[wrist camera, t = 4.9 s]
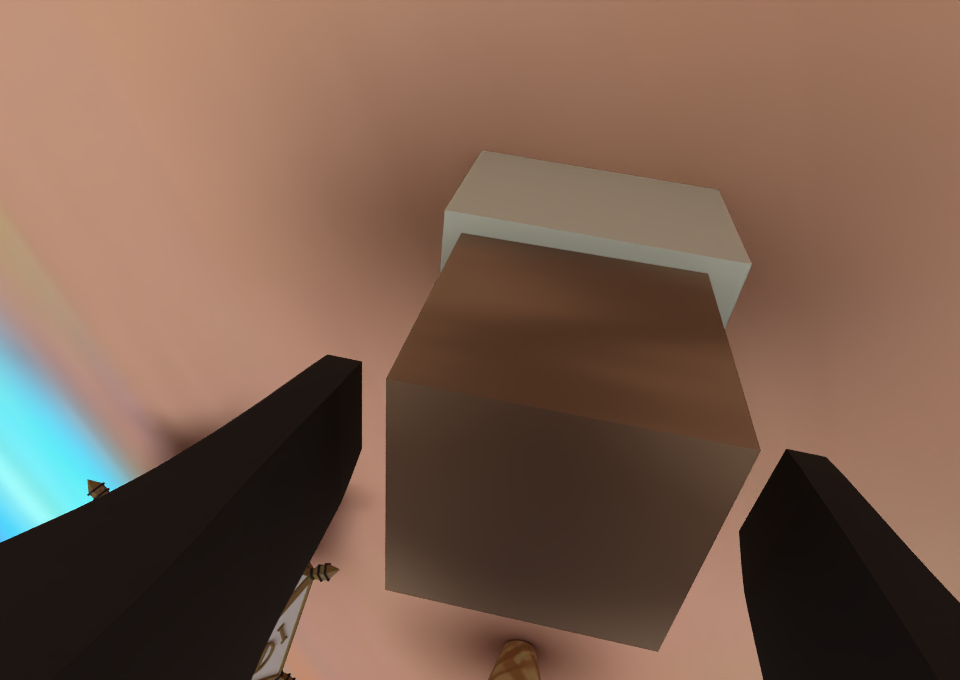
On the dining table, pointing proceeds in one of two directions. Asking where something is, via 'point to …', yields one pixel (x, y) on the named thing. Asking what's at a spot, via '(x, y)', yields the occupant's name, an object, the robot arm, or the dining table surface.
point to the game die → (272, 661)
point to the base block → (600, 218)
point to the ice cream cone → (516, 662)
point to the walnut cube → (562, 440)
